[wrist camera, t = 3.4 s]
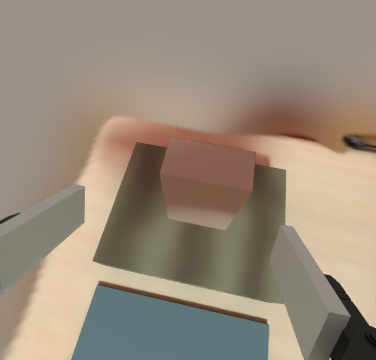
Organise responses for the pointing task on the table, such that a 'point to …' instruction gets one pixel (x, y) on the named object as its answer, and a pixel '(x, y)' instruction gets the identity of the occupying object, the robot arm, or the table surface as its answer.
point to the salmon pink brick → (205, 182)
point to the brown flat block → (194, 233)
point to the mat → (164, 331)
